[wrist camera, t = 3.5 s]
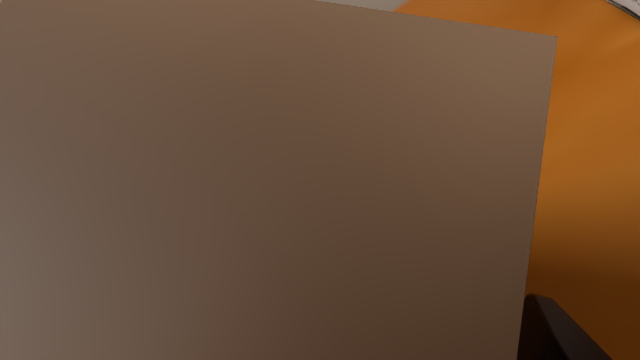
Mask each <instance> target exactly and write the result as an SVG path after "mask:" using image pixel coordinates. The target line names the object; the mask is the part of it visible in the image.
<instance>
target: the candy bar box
mask: <svg viewBox="0 0 640 360" xmlns="http://www.w3.org/2000/svg"><path fill="white" fill-rule="evenodd" d="M606 1H607V2H609V3H611V4H612V5H614V6H616V7H618V8H620V9H622V10H623V11H625V12H627V13H628V14H630V15H632V16H633V17H635V18H637V19H639V20H640V0H606Z"/></svg>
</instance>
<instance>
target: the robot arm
mask: <svg viewBox="0 0 640 360" xmlns="http://www.w3.org/2000/svg"><path fill="white" fill-rule="evenodd" d="M516 360H613V359H612V358H611V357H610V356H609V355H608V354H607V353H606V352H605V351H604V350H603V349H602V348H601V347H600V346H599V345H598V344H597V343H596V342H595V341H594V340H593V339H592V338H591V337H590V336H589V335H588V334H587V333H586V332H585V331H584V330H583V329H582V328H581V327H580V326H579V325H578V324H577V323H576V322H575V321H574V320H573V319H572V318H571V317H570V316H569V315H568V314H567V313H566V312H565V311H564V310H563V309H562V308H561V307H560V306H559V305H558V304H557V303H556V302H555V301H554V300H553V299H551V298H549V297H545V296H542V295H538V294H534V293H530V294H528V295H527V296H526V297H525V299H524V304H523V312H522V320H521V328H520V335H519V343H518V351H517V359H516Z"/></svg>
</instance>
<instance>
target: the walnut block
mask: <svg viewBox="0 0 640 360" xmlns="http://www.w3.org/2000/svg"><path fill="white" fill-rule="evenodd" d="M556 44H557V36H551V35H544V34H538V33H531V32H524V31H518V30H511V29H504V28H497V27H491V26H484V25H477V24H470V23H464V22H457V21H450V20H443V19H437V18H430V17H423V16H416V15H410V14H403V13H396V12H389V11H383V10H376V9H369V8H362V7H355V6H349V5H342V4H335V3H329V2H322V1H315V0H3V1H2V2H1V4H0V360H516V359H517V351H518V343H519V335H520V328H521V320H522V312H523V304H524V296H525V288H526V280H527V272H528V265H529V257H530V249H531V241H532V233H533V225H534V217H535V209H536V202H537V194H538V186H539V178H540V170H541V162H542V154H543V146H544V139H545V131H546V123H547V115H548V107H549V99H550V91H551V83H552V76H553V68H554V60H555V52H556Z"/></svg>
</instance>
